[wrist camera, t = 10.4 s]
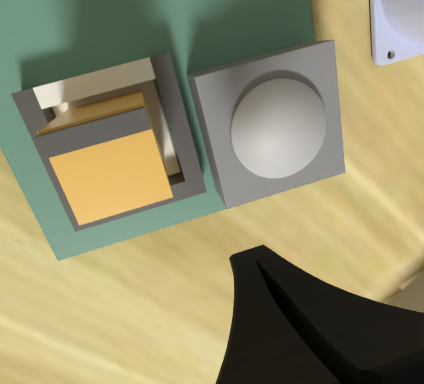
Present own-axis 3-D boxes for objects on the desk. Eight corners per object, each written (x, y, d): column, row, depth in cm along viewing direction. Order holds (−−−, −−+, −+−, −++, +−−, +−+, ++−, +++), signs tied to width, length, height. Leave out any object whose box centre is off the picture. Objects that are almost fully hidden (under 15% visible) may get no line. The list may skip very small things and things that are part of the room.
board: (288, -119, 17) (334, -172, 13) (321, 172, 24) (359, 196, 20) (-83, -37, 16) (-160, -69, 12) (61, 252, 22) (44, 296, 18)
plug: (142, 89, 18) (143, 104, 12) (163, 158, 20) (174, 202, 14) (67, 109, 18) (32, 135, 12) (95, 178, 20) (76, 232, 14)
